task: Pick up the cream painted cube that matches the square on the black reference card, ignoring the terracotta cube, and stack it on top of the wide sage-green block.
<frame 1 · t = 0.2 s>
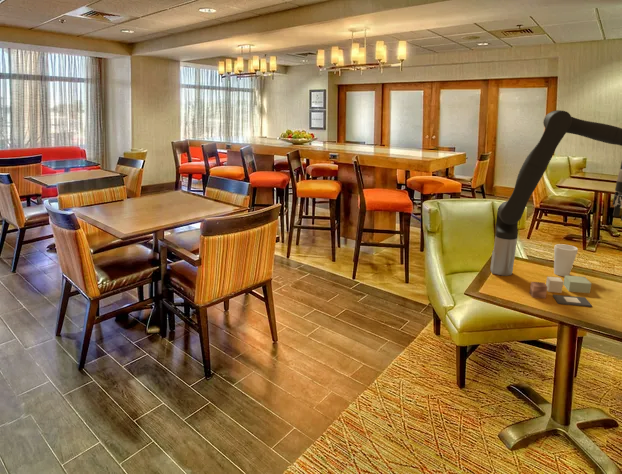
hand: (619, 218, 198), 29 cm above the table, tool pointing down, fingers open, 8 cm apart
reference card: (571, 301, 184), on the table
cream cube: (553, 290, 196), on the table
green block: (576, 289, 197), on the table
terracotta cube: (537, 295, 190), on the table
foam cup: (561, 274, 214), on the table
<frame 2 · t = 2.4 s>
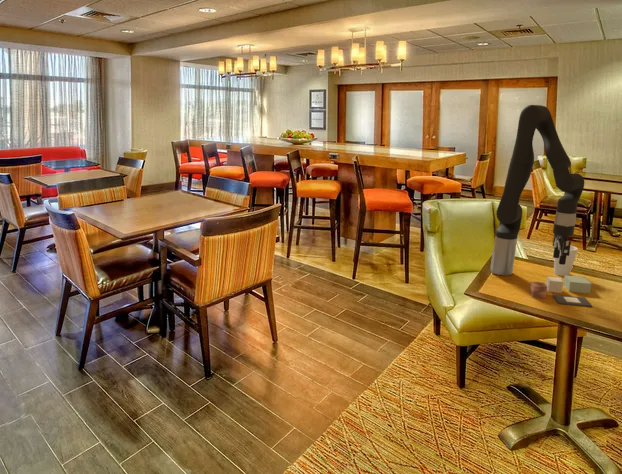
hand: (558, 260, 192), 13 cm above the table, tool pointing down, fingers open, 8 cm apart
nothing on the table moved.
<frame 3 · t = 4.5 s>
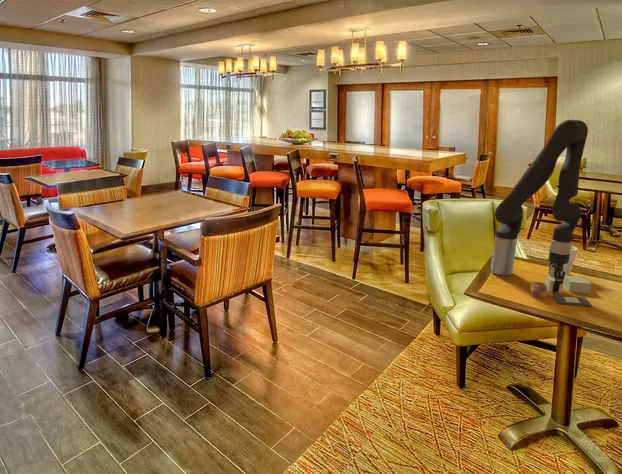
hand: (553, 288, 195), 0 cm above the table, tool pointing down, fingers closed on cream cube, 5 cm apart
cream cube: (553, 290, 196), on the table, touching gripper
everything else where it was.
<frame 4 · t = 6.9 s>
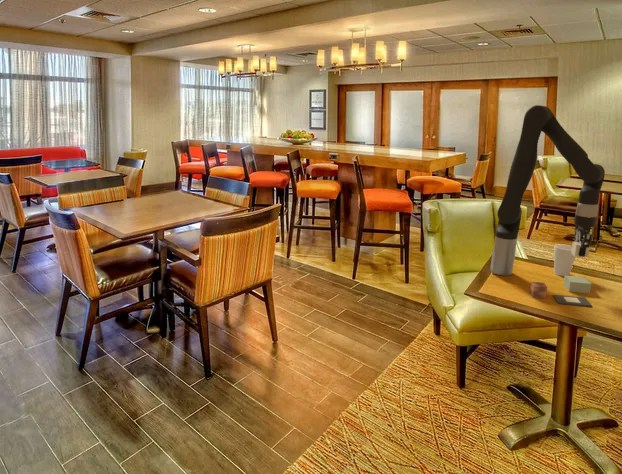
hand: (579, 253, 192), 16 cm above the table, tool pointing down, fingers closed on cream cube, 5 cm apart
cream cube: (579, 255, 192), point 15 cm above the table, touching gripper
everything else where it was.
when the fingers open (6 cm above the table, at t = 9.6 s): cream cube drops 2 cm, resting on green block.
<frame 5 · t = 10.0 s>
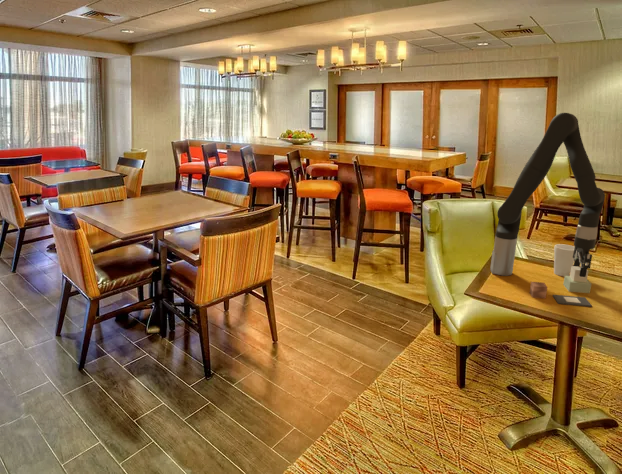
hand: (579, 273, 195), 7 cm above the table, tool pointing down, fingers open, 8 cm apart
cream cube: (577, 279, 196), point 4 cm above the table, touching green block
green block: (576, 289, 197), on the table, touching cream cube
everything else where it was.
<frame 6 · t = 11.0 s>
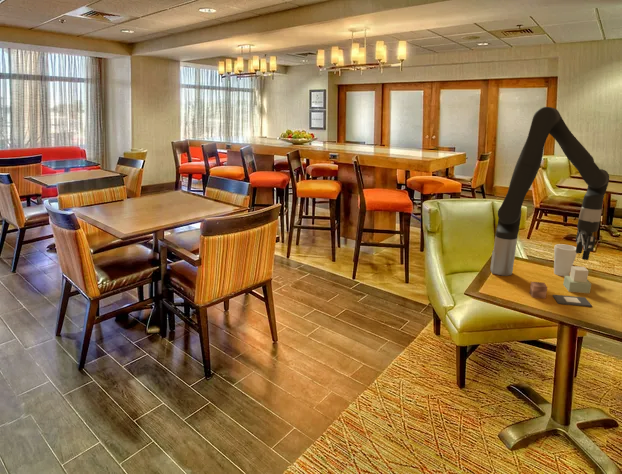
hand: (581, 256, 193), 15 cm above the table, tool pointing down, fingers open, 8 cm apart
nothing on the table moved.
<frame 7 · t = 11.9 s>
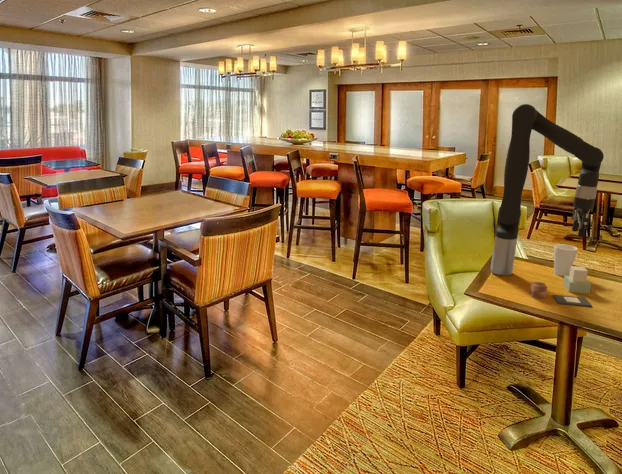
hand: (577, 233, 196), 23 cm above the table, tool pointing down, fingers open, 8 cm apart
nothing on the table moved.
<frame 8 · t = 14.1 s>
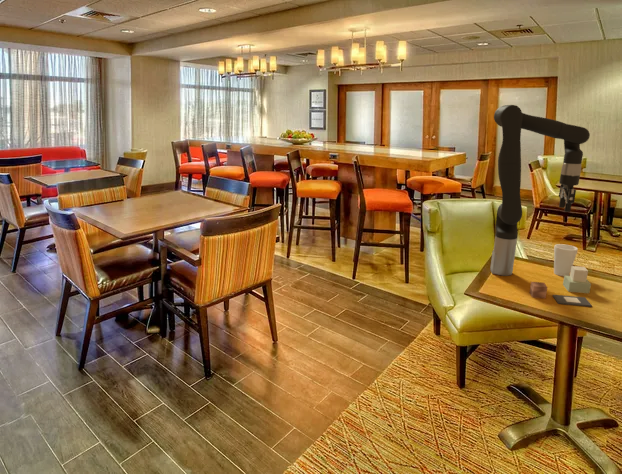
hand: (564, 209, 207), 30 cm above the table, tool pointing down, fingers open, 8 cm apart
cream cube: (577, 279, 196), point 4 cm above the table
green block: (575, 289, 197), on the table
everything else where it was.
at the end: cream cube 0.1 cm off-centre on the green block, point 4.5 cm above the green block's base; cream cube tilted 0°; the gripper is holding nothing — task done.
